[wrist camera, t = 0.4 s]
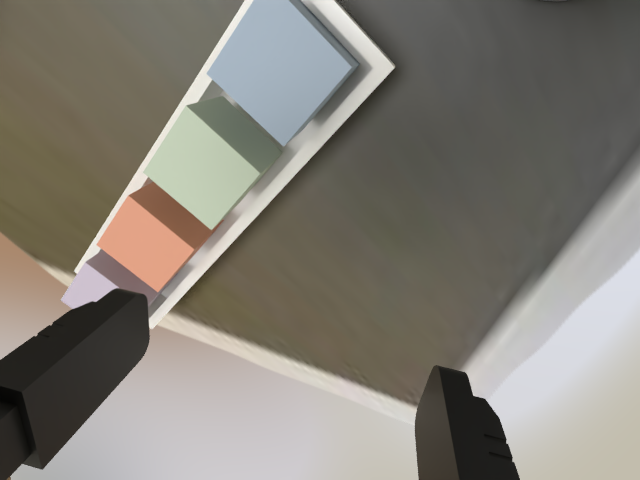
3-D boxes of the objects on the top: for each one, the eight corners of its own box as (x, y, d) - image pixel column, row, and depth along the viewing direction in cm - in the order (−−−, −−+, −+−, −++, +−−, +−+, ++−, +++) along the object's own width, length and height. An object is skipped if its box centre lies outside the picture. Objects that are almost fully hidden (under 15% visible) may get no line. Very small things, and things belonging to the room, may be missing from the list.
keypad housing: (300, -40, 21) (281, -58, 17) (394, 64, 22) (395, 67, 19) (106, 248, 34) (73, 271, 30) (175, 301, 35) (151, 329, 32)
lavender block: (127, 233, 29) (85, 262, 25) (178, 273, 30) (145, 307, 26) (102, 268, 31) (60, 300, 27) (150, 304, 32) (116, 340, 28)
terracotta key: (169, 172, 25) (128, 195, 22) (224, 220, 26) (194, 249, 23) (138, 217, 28) (96, 244, 24) (190, 259, 29) (158, 292, 25)
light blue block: (293, -8, 19) (267, -23, 15) (360, 63, 20) (352, 67, 16) (240, 69, 21) (206, 73, 17) (302, 129, 22) (283, 146, 18)
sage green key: (222, 95, 22) (185, 105, 18) (282, 152, 23) (260, 173, 19) (183, 152, 25) (142, 172, 21) (239, 202, 26) (211, 230, 22)
